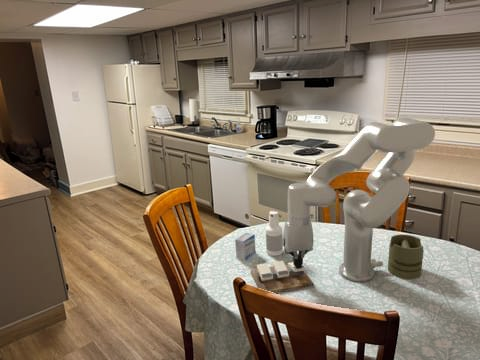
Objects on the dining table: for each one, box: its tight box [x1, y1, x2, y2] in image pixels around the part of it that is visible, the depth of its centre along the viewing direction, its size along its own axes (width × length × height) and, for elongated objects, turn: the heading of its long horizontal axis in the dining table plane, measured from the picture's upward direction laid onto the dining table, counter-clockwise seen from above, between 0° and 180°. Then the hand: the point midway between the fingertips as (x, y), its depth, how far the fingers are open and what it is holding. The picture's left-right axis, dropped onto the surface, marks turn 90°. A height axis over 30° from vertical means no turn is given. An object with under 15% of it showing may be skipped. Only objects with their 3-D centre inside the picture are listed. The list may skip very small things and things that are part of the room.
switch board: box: [250, 263, 315, 294], centre depth 133 cm, size 19×15×3 cm
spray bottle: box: [265, 210, 284, 257], centre depth 151 cm, size 7×7×18 cm
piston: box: [387, 234, 425, 280], centre depth 133 cm, size 11×12×11 cm
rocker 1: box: [256, 262, 273, 281], centre depth 132 cm, size 4×7×1 cm, turn 13°
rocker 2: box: [287, 261, 306, 272], centre depth 134 cm, size 4×7×1 cm, turn 13°
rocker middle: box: [271, 260, 289, 278], centre depth 133 cm, size 4×7×1 cm, turn 13°
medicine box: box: [234, 232, 257, 262], centre depth 151 cm, size 8×4×9 cm, turn 143°
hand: (298, 266), depth 131 cm, fingers closed
